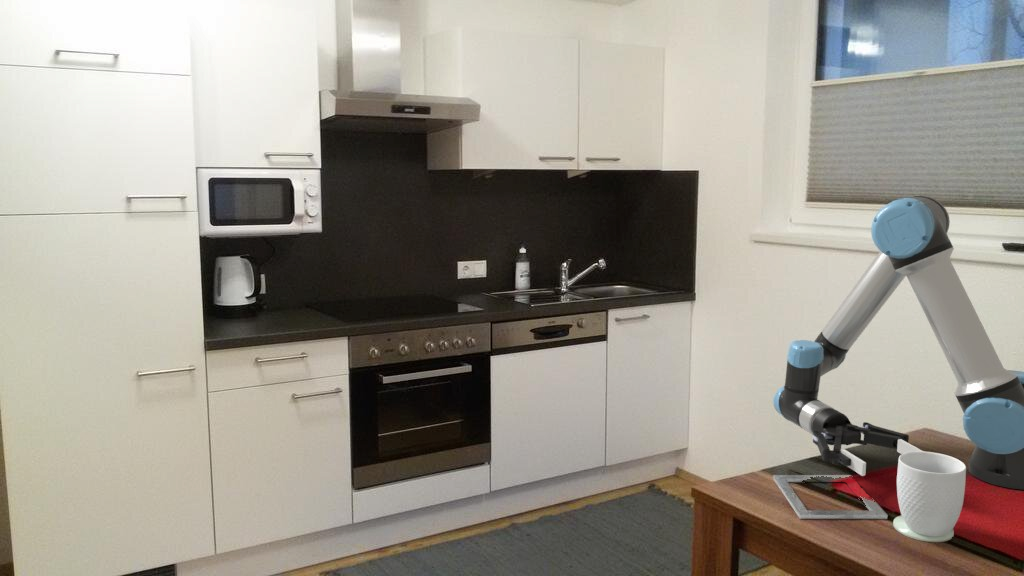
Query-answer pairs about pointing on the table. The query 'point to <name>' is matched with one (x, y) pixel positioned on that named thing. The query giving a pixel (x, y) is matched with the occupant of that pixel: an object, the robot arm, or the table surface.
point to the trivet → (905, 530)
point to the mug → (930, 491)
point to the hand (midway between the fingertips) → (893, 463)
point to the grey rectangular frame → (803, 513)
